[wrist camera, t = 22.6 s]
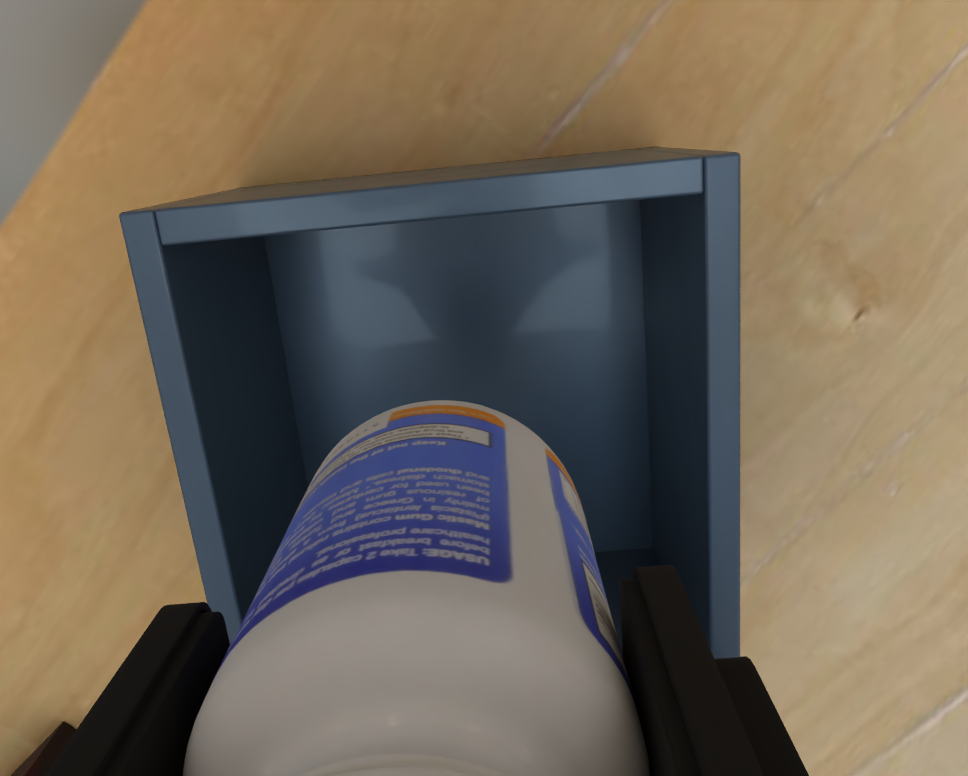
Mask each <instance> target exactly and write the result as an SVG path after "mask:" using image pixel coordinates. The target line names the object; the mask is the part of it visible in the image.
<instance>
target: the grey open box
mask: <svg viewBox="0 0 968 776" xmlns="http://www.w3.org/2000/svg"><path fill="white" fill-rule="evenodd" d="M119 217H120V222H121V226H122V230H123V235H124V239H125V243H126V248H127V252H128V257H129V261H130V265H131V270H132V274H133V279H134V283H135V287H136V292H137V296H138V301H139V305H140V309H141V314H142V318H143V323H144V327H145V331H146V336H147V340H148V345H149V349H150V353H151V358H152V362H153V366H154V371H155V375H156V380H157V384H158V388H159V393H160V397H161V402H162V406H163V410H164V415H165V419H166V424H167V428H168V432H169V437H170V441H171V446H172V450H173V454H174V459H175V463H176V467H177V472H178V476H179V481H180V485H181V489H182V494H183V498H184V503H185V507H186V511H187V516H188V520H189V525H190V529H191V533H192V538H193V542H194V547H195V551H196V555H197V560H198V564H199V568H200V573H201V577H202V582H203V586H204V590H205V595H206V599H207V604H208V605H209V607H210V608H211V610H212V612H217V611H219V612H221V613H222V615H223V617H224V620H225V624H226V628H227V633H228V637H229V642H230V645H231V643H232V641H233V639H234V637H235V635H236V633H237V631H238V629H239V627H240V625H241V623H242V621H243V619H244V617H245V615H246V613H247V611H248V609H249V607H250V605H251V603H252V601H253V599H254V597H255V595H256V593H257V591H258V589H259V587H260V585H261V583H262V581H263V579H264V577H265V575H266V573H267V570H268V568H269V566H270V564H271V562H272V560H273V558H274V556H275V554H276V552H277V550H278V548H279V546H280V544H281V542H282V540H283V538H284V536H285V534H286V532H287V529H288V527H289V525H290V523H291V521H292V519H293V517H294V515H295V513H296V511H297V509H298V507H299V505H300V503H301V501H302V499H303V497H304V495H305V493H306V491H307V489H308V487H309V485H310V483H311V481H312V479H313V477H314V476H315V474H316V472H317V470H318V469H319V467H320V466H321V464H322V463H323V461H324V460H325V458H326V457H327V456H328V454H329V453H330V452H331V451H332V450H333V448H334V447H335V446H336V445H337V444H338V443H339V442H340V441H341V440H342V439H343V438H344V437H345V436H347V435H348V434H349V433H350V432H352V431H353V430H354V429H356V428H357V427H358V426H360V425H361V424H363V423H365V422H366V421H368V420H370V419H371V418H373V417H375V416H377V415H379V414H381V413H383V412H385V411H388V410H390V409H393V408H396V407H399V406H403V405H407V404H411V403H416V402H423V401H433V400H451V401H463V402H469V403H474V404H479V405H483V406H485V407H488V408H491V409H494V410H497V411H499V412H501V413H504V414H506V415H508V416H509V417H511V418H513V419H515V420H517V421H518V422H520V423H521V424H523V425H524V426H526V427H527V428H529V429H530V430H531V431H533V432H534V433H535V434H536V435H537V436H539V437H540V438H541V439H542V440H543V441H544V442H545V443H546V444H547V445H548V446H549V447H550V449H551V450H552V451H553V452H554V453H555V455H556V456H557V457H558V458H559V460H560V461H561V463H562V464H563V465H564V467H565V469H566V471H567V472H568V474H569V476H570V478H571V480H572V481H573V484H574V486H575V489H576V491H577V494H578V496H579V499H580V501H581V505H582V508H583V511H584V515H585V518H586V522H587V526H588V530H589V534H590V537H591V541H592V545H593V549H594V553H595V557H596V562H597V565H598V569H599V573H600V576H601V580H602V584H603V587H604V591H605V594H606V598H607V602H608V605H609V609H610V613H611V617H612V620H613V624H614V627H615V630H616V634H617V638H618V641H619V645H620V649H621V652H622V656H623V650H622V630H621V610H620V590H619V583H620V579H632V578H633V569H634V568H638V567H650V566H663V565H674V566H675V568H676V570H677V573H678V575H679V577H680V580H681V582H682V584H683V587H684V589H685V591H686V594H687V596H688V598H689V601H690V603H691V605H692V608H693V610H694V613H695V615H696V617H697V620H698V622H699V624H700V627H701V629H702V631H703V634H704V636H705V638H706V641H707V643H708V645H709V648H710V650H711V652H712V655H713V657H714V659H720V658H733V657H740V154H739V153H737V152H725V151H710V150H696V149H681V148H666V147H650V148H639V149H629V150H619V151H609V152H599V153H589V154H579V155H568V156H558V157H548V158H538V159H528V160H518V161H507V162H497V163H487V164H477V165H467V166H457V167H447V168H436V169H426V170H416V171H406V172H396V173H386V174H376V175H365V176H355V177H345V178H335V179H325V180H315V181H305V182H294V183H284V184H274V185H264V186H254V187H244V188H236V189H232V190H227V191H222V192H218V193H213V194H208V195H203V196H198V197H194V198H189V199H184V200H179V201H175V202H170V203H165V204H160V205H155V206H151V207H146V208H141V209H136V210H131V211H127V212H122V213H120V215H119Z"/></svg>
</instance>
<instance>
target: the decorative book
mask: <svg viewBox="0 0 968 776" xmlns="http://www.w3.org/2000/svg"><path fill="white" fill-rule="evenodd" d="M75 731H76V730H74V729H73V728H72V727H70V726H69V725H67V724H66V723H64V722H63V723H62V724H61V725H60V726H59V727H58V728H57V729H56V730H55V731H54V732H53V733H52V734H51V735H50V736H49V737H48V738H47V739H46V740H45V741H44V742H43V743H42V744H41V745H40V746H39V747H38V748H37V749H36V750H35V751H34V752H33V753H32V754H31V755H30V756H29V757H28V758H27V759H26V760H25V761H24V763H23V764H22V765H21V766H20V767H19V768H18V769H17V770H16V771H15V772H14V773H13V774H12V775H11V776H45V774H46V773H47V772H48V770H49V769H50V767H51V766H52V764H53V763H54V761H55V760H56V759H57V757H58V756H59V754H60V753H61V751H62V750H63V749H64V747H65V746H66V744H67V743H68V741H69V740H70V738H71V737H72V736H73V734H74V733H75Z"/></svg>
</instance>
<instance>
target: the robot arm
mask: <svg viewBox="0 0 968 776" xmlns="http://www.w3.org/2000/svg"><path fill="white" fill-rule="evenodd" d="M619 590H620V610H621V630H622V650H623V660H624V663H625V667H626V670H627V674H628V677H629V680H630V684H631V688H632V692H633V696H634V700H635V704H636V707H637V711H638V715H639V720H640V724H641V728H642V732H643V736H644V740H645V744H646V748H647V752H648V757H649V764H650V774H651V776H809V775H808V773H807V771H806V769H805V767H804V765H803V763H802V761H801V759H800V757H799V755H798V753H797V751H796V749H795V747H794V745H793V743H792V741H791V738H790V736H789V734H788V732H787V730H786V728H785V726H784V724H783V722H782V720H781V718H780V716H779V714H778V712H777V710H776V708H775V706H774V704H773V702H772V700H771V698H770V696H769V694H768V692H767V690H766V688H765V686H764V684H763V682H762V680H761V678H760V676H759V674H758V672H757V670H756V668H755V666H754V665H753V663H752V661H751V660H750V659H749V658H747V657H733V658H720V659H714V657H713V655H712V652H711V650H710V648H709V645H708V643H707V641H706V638H705V636H704V634H703V631H702V629H701V627H700V624H699V622H698V620H697V617H696V615H695V613H694V610H693V608H692V605H691V603H690V601H689V598H688V596H687V594H686V591H685V589H684V587H683V584H682V582H681V580H680V577H679V575H678V573H677V570H676V568H675V566H674V565H663V566H650V567H638V568H634V569H633V578H632V579H620V583H619ZM229 647H230V642H229V637H228V633H227V628H226V624H225V620H224V617H223V615H222V613H221V612H219V611H217V612H212V610H211V608H210V607H209V605H208V604H207V603H205V602H200V603H188V604H175V605H166V606H163V607H162V608H161V609H160V611H159V612H158V613H157V615H156V616H155V618H154V619H153V621H152V622H151V624H150V625H149V626H148V628H147V629H146V631H145V632H144V634H143V635H142V636H141V638H140V639H139V641H138V642H137V644H136V645H135V647H134V648H133V649H132V651H131V652H130V654H129V655H128V657H127V658H126V659H125V661H124V662H123V664H122V665H121V667H120V668H119V669H118V671H117V672H116V674H115V675H114V677H113V678H112V680H111V681H110V682H109V684H108V685H107V687H106V688H105V690H104V691H103V692H102V694H101V695H100V697H99V698H98V700H97V701H96V703H95V704H94V705H93V707H92V708H91V710H90V711H89V713H88V714H87V715H86V717H85V718H84V720H83V721H82V723H81V724H80V726H79V727H78V728H77V730H76V731H75V733H74V734H73V736H72V737H71V738H70V740H69V741H68V743H67V744H66V746H65V747H64V749H63V750H62V751H61V753H60V754H59V756H58V757H57V759H56V760H55V761H54V763H53V764H52V766H51V767H50V769H49V770H48V772H47V773H46V774H45V776H183V768H184V760H185V755H186V750H187V745H188V741H189V738H190V735H191V732H192V729H193V725H194V722H195V720H196V718H197V715H198V713H199V711H200V708H201V706H202V704H203V702H204V699H205V697H206V695H207V693H208V691H209V688H210V686H211V684H212V682H213V680H214V677H215V675H216V673H217V671H218V669H219V667H220V665H221V663H222V661H223V659H224V657H225V655H226V653H227V651H228V649H229Z"/></svg>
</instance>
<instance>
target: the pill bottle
mask: <svg viewBox="0 0 968 776" xmlns="http://www.w3.org/2000/svg"><path fill="white" fill-rule="evenodd" d="M183 776H651V774H650V764H649V757H648V752H647V748H646V744H645V740H644V736H643V732H642V728H641V724H640V720H639V715H638V711H637V707H636V704H635V700H634V696H633V692H632V688H631V684H630V680H629V677H628V674H627V670H626V667H625V663H624V660H623V656H622V652H621V649H620V645H619V641H618V638H617V634H616V630H615V627H614V624H613V620H612V617H611V613H610V609H609V605H608V602H607V598H606V594H605V591H604V587H603V584H602V580H601V576H600V573H599V569H598V565H597V562H596V557H595V553H594V549H593V545H592V541H591V537H590V534H589V530H588V526H587V522H586V518H585V515H584V511H583V508H582V505H581V501H580V499H579V496H578V494H577V491H576V489H575V486H574V484H573V481H572V480H571V478H570V476H569V474H568V472H567V471H566V469H565V467H564V465H563V464H562V463H561V461H560V460H559V458H558V457H557V456H556V455H555V453H554V452H553V451H552V450H551V449H550V447H549V446H548V445H547V444H546V443H545V442H544V441H543V440H542V439H541V438H540V437H539V436H537V435H536V434H535V433H534V432H533V431H531V430H530V429H529V428H527V427H526V426H524V425H523V424H521V423H520V422H518V421H517V420H515V419H513V418H511V417H509V416H508V415H506V414H504V413H501V412H499V411H497V410H494V409H491V408H488V407H485V406H483V405H479V404H474V403H469V402H463V401H451V400H433V401H423V402H416V403H411V404H407V405H403V406H399V407H396V408H393V409H390V410H388V411H385V412H383V413H381V414H379V415H377V416H375V417H373V418H371V419H370V420H368V421H366V422H365V423H363V424H361V425H360V426H358V427H357V428H356V429H354V430H353V431H352V432H350V433H349V434H348V435H347V436H345V437H344V438H343V439H342V440H341V441H340V442H339V443H338V444H337V445H336V446H335V447H334V448H333V450H332V451H331V452H330V453H329V454H328V456H327V457H326V458H325V460H324V461H323V463H322V464H321V466H320V467H319V469H318V470H317V472H316V474H315V476H314V477H313V479H312V481H311V483H310V485H309V487H308V489H307V491H306V493H305V495H304V497H303V499H302V501H301V503H300V505H299V507H298V509H297V511H296V513H295V515H294V517H293V519H292V521H291V523H290V525H289V527H288V529H287V532H286V534H285V536H284V538H283V540H282V542H281V544H280V546H279V548H278V550H277V552H276V554H275V556H274V558H273V560H272V562H271V564H270V566H269V568H268V570H267V573H266V575H265V577H264V579H263V581H262V583H261V585H260V587H259V589H258V591H257V593H256V595H255V597H254V599H253V601H252V603H251V605H250V607H249V609H248V611H247V613H246V615H245V617H244V619H243V621H242V623H241V625H240V627H239V629H238V631H237V633H236V635H235V637H234V639H233V641H232V643H231V645H230V647H229V649H228V651H227V653H226V655H225V657H224V659H223V661H222V663H221V665H220V667H219V669H218V671H217V673H216V675H215V677H214V680H213V682H212V684H211V686H210V688H209V691H208V693H207V695H206V697H205V699H204V702H203V704H202V706H201V708H200V711H199V713H198V715H197V718H196V720H195V722H194V725H193V729H192V732H191V735H190V738H189V741H188V745H187V750H186V755H185V760H184V768H183Z"/></svg>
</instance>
